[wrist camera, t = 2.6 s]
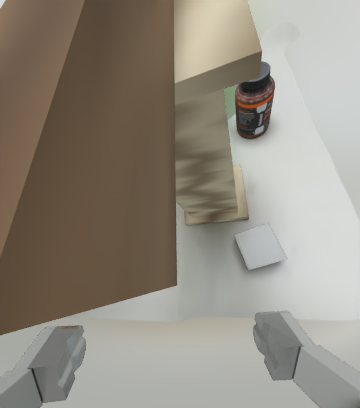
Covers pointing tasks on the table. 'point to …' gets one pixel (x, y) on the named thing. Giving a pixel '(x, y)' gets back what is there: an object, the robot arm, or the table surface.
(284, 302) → the table surface
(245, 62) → the birch stand
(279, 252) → the grey block
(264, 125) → the supplement bottle
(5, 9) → the walnut rail
